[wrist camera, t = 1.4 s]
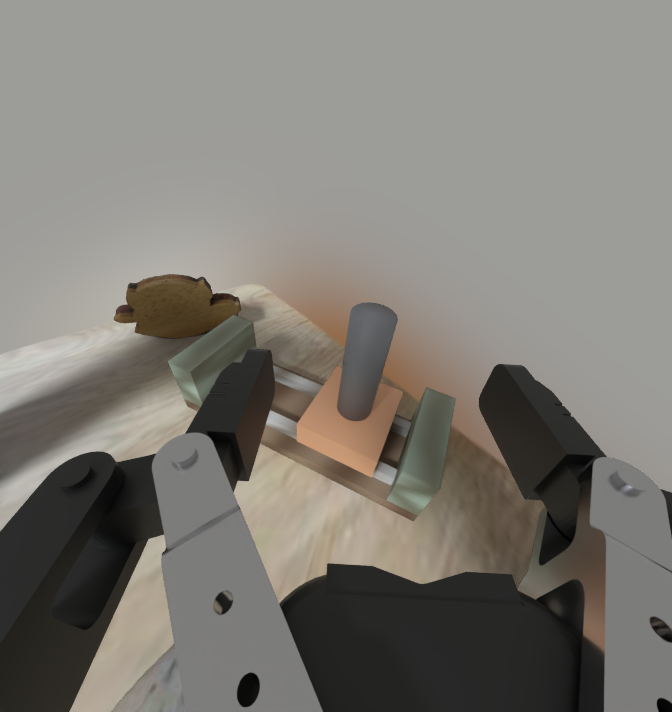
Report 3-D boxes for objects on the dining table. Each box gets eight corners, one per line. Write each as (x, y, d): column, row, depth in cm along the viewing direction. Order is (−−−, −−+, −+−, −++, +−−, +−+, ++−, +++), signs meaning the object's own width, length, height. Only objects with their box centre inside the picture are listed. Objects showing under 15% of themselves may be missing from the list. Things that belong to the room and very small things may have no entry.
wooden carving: (240, 316, 48) (231, 260, 41) (246, 331, 45) (236, 274, 38) (129, 334, 42) (97, 273, 35) (127, 353, 39) (91, 290, 32)
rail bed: (187, 406, 33) (167, 361, 28) (241, 357, 40) (233, 314, 35) (413, 521, 26) (440, 488, 21) (431, 438, 33) (455, 398, 28)
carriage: (296, 441, 28) (295, 329, 18) (334, 382, 34) (348, 277, 24) (371, 477, 26) (412, 372, 16) (397, 408, 32) (437, 303, 22)
